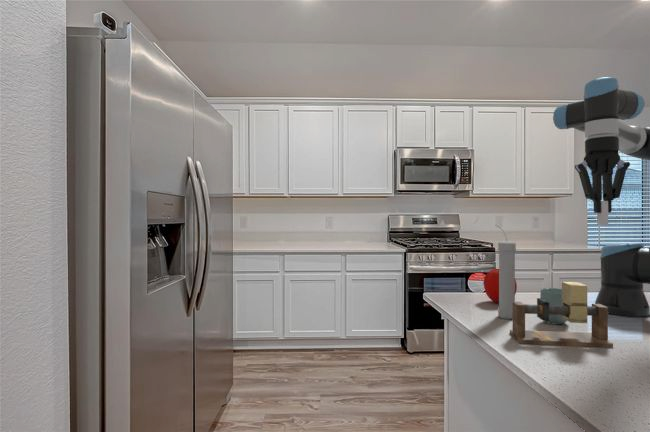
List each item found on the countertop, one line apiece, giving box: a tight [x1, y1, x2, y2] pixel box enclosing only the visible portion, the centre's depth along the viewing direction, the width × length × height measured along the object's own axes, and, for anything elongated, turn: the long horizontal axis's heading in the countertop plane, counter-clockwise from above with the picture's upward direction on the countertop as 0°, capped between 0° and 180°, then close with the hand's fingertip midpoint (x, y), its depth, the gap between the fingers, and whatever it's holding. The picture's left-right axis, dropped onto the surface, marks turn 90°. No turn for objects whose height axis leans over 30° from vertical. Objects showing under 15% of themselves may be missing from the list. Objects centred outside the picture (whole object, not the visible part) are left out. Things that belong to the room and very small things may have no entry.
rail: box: [509, 301, 614, 348], centre depth 108 cm, size 22×9×10 cm, turn 81°
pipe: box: [495, 224, 517, 320], centre depth 132 cm, size 6×6×30 cm
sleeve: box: [561, 281, 588, 324], centre depth 107 cm, size 4×5×10 cm
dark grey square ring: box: [536, 297, 549, 322], centre depth 108 cm, size 1×5×5 cm, turn 171°
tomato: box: [483, 267, 518, 304], centre depth 153 cm, size 12×12×13 cm
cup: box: [539, 287, 568, 325], centre depth 125 cm, size 8×8×10 cm
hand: (602, 225), depth 110 cm, fingers closed
